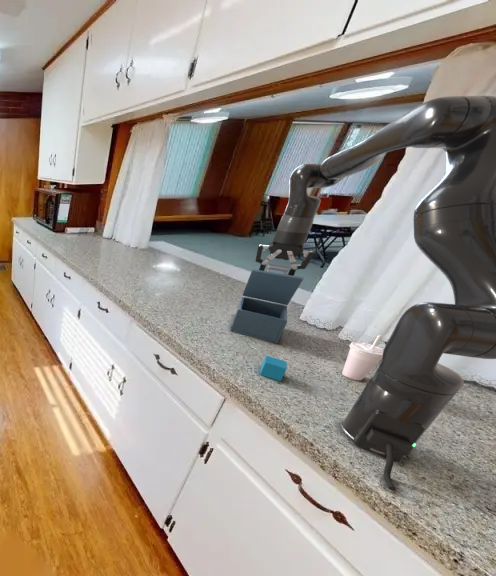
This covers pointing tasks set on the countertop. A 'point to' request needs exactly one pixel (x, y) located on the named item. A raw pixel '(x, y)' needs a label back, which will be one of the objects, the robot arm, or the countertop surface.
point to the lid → (272, 285)
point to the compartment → (260, 319)
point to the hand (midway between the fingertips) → (274, 276)
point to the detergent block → (273, 368)
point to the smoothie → (362, 359)
